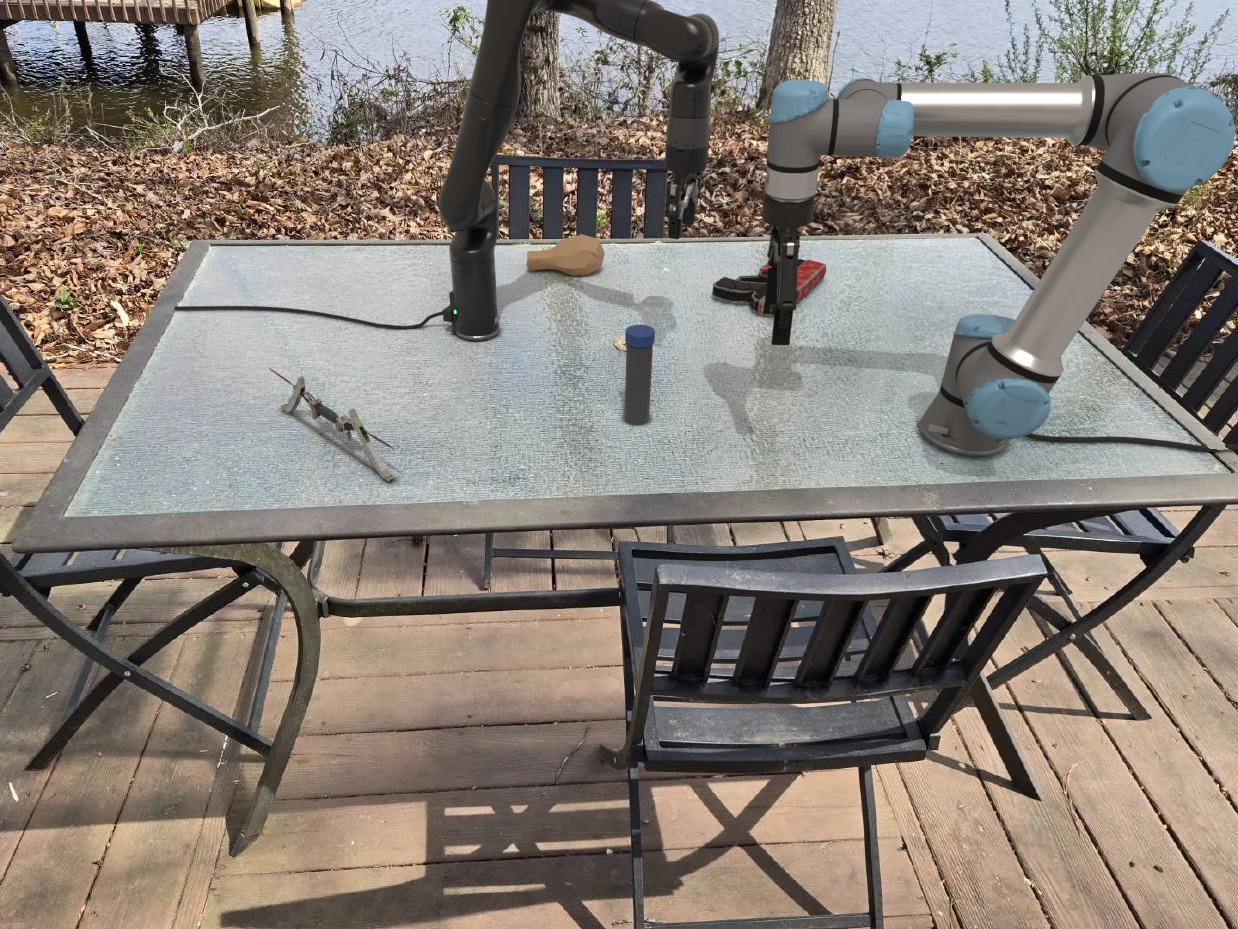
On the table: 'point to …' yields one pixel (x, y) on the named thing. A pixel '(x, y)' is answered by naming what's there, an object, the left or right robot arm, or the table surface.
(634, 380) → the dark grey bottle
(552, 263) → the squash
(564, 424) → the table surface
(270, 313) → the table surface
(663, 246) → the table surface
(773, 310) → the gun
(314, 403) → the bow
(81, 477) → the table surface
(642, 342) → the lid
